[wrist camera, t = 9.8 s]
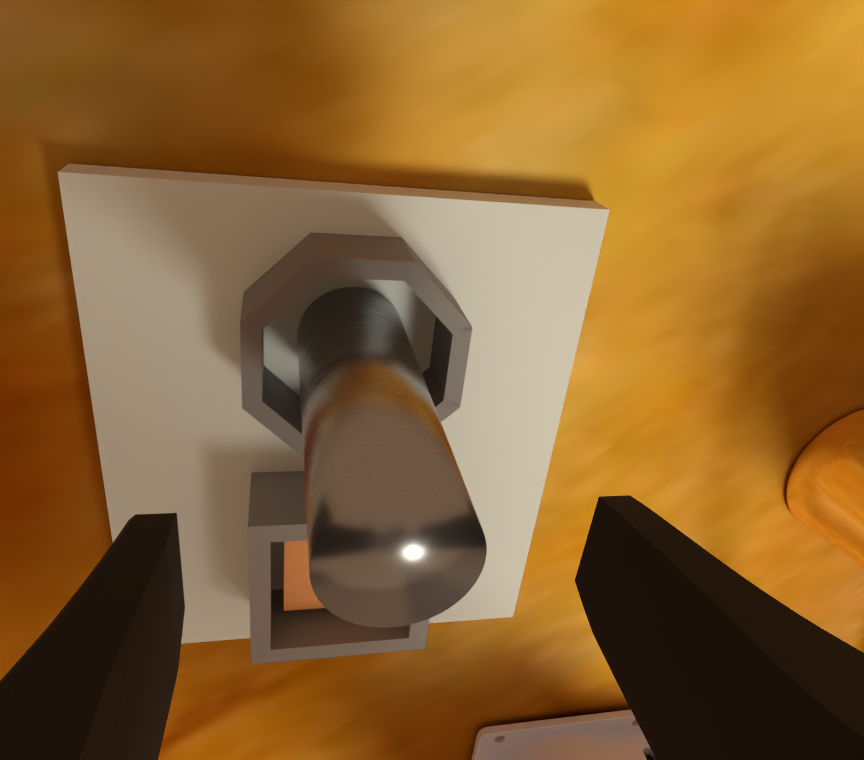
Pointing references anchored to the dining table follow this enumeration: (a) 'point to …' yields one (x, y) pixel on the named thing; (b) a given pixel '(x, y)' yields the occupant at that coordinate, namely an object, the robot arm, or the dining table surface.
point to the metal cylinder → (378, 470)
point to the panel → (279, 367)
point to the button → (298, 578)
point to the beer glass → (832, 486)
